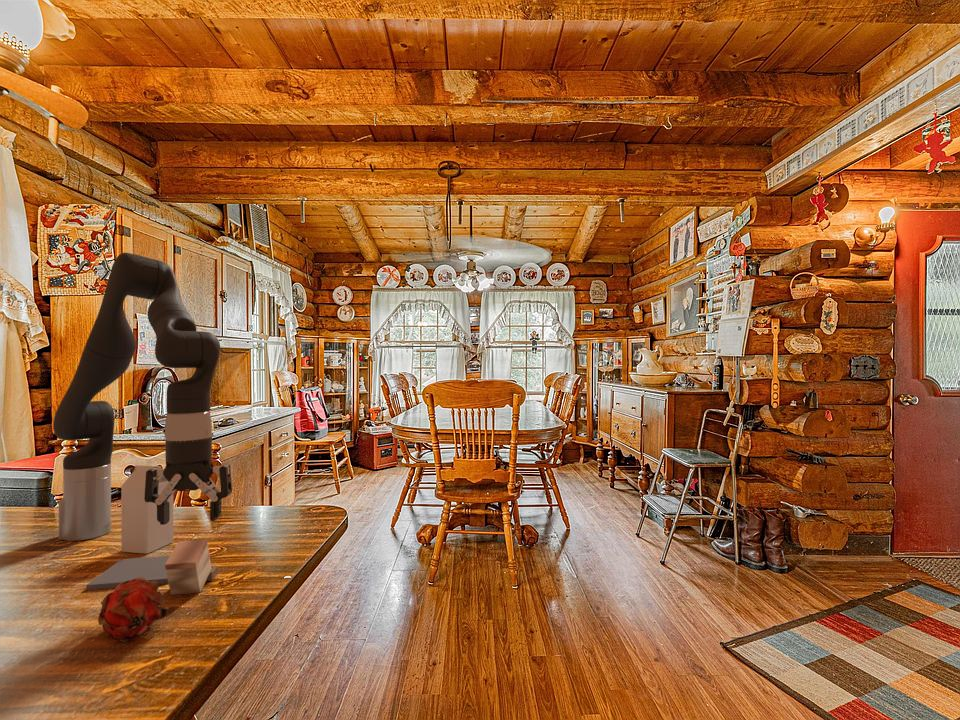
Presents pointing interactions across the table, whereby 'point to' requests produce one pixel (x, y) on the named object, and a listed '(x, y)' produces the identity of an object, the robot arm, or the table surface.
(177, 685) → the table surface
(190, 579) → the pinkish tan block
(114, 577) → the charcoal mat
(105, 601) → the dragon fruit
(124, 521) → the milk carton
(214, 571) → the block
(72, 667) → the table surface
